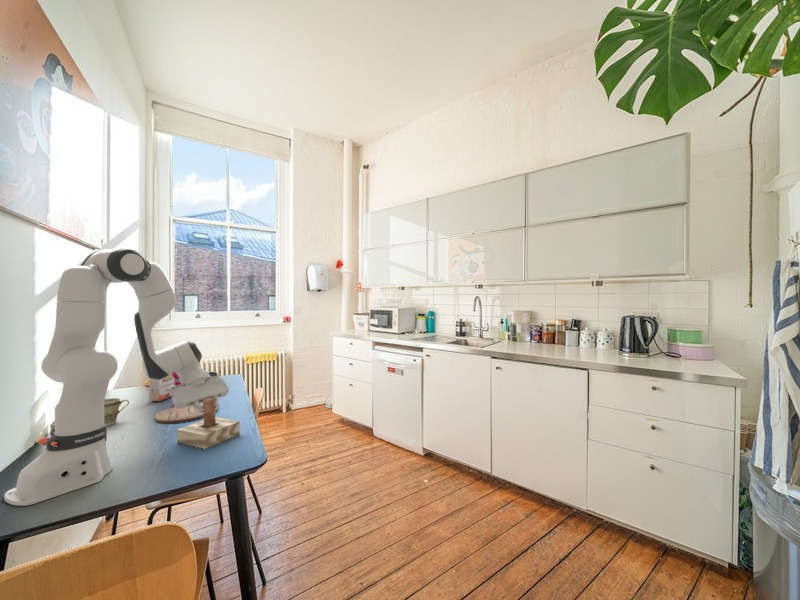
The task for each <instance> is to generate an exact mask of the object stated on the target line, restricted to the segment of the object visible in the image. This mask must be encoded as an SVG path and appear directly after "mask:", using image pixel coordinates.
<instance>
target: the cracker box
mask: <svg viewBox="0 0 800 600" xmlns="http://www.w3.org/2000/svg"><path fill="white" fill-rule="evenodd" d="M148 378H149V377H148ZM174 379H175V378H174V377H173V373H172V374H169V375H168V376H166V377H164V378H163V379H161V380H157V379H151V378H149V380H148V381H149V383H148V384H149V386H148V387H149V388H148V389H149V402H150V401H160V402H162V401H164V399H165V400H167V399H170V398H171V396H170V394H169V389H170V388H171V387H172V386H175V382H174ZM169 397H170V398H169ZM166 398H167V399H166Z"/></svg>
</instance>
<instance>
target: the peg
mask: <svg viewBox="0 0 800 600" xmlns="http://www.w3.org/2000/svg"><path fill="white" fill-rule="evenodd" d="M202 403H203V406H204V407H205V408H206V410H205V412H203V416H204V418H203V420H204V426H212V425H215V424H216V419H215V417H216V412H215V397H208V398H204V399H203V402H202Z"/></svg>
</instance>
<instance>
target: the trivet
mask: <svg viewBox="0 0 800 600" xmlns="http://www.w3.org/2000/svg"><path fill="white" fill-rule="evenodd" d="M199 405H201V406H203V402H202V403H199ZM217 411H218V408H215V413H217ZM203 417H204V416H203V412H202V413H200V412H199V410H198V409H196V408H194V407H193V405H191V406H188V407H184V408H180V409H177V408H175V406H172V407H169V408H166V409H163V410H161V411H159V412H157V413H156V414H155V415H154V421H155V420H156V421H157V423H159V422H160V424H166V423H169V424H180V423H179V422H183V423H186V422H185V421H189V422H192V421H191V420H194V421H196V420H195V419H198V420H201V419H200V418H202V419H204V418H203ZM156 421H155V422H156Z"/></svg>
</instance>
